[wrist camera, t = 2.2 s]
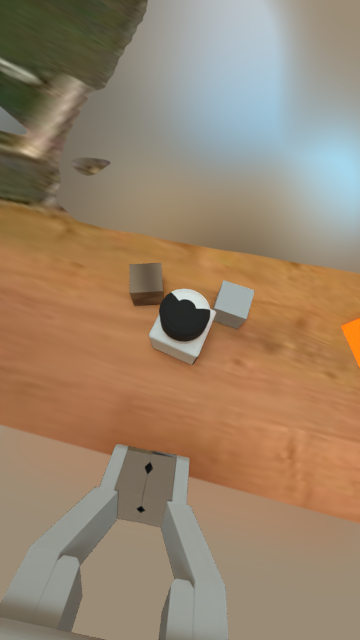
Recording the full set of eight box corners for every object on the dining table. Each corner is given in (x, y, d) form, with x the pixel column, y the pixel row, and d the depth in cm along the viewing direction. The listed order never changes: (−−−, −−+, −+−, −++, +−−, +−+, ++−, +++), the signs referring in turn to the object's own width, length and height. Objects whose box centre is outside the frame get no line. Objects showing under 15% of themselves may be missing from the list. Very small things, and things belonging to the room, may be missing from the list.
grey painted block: (209, 319, 39) (214, 307, 34) (217, 294, 40) (223, 280, 36) (237, 329, 38) (246, 319, 34) (244, 303, 40) (254, 290, 35)
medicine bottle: (192, 365, 36) (202, 349, 25) (152, 347, 37) (143, 323, 25) (209, 326, 38) (224, 295, 27) (170, 310, 39) (169, 273, 28)
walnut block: (134, 305, 39) (129, 292, 34) (134, 280, 41) (129, 264, 36) (163, 304, 39) (163, 291, 35) (162, 278, 41) (161, 262, 36)
